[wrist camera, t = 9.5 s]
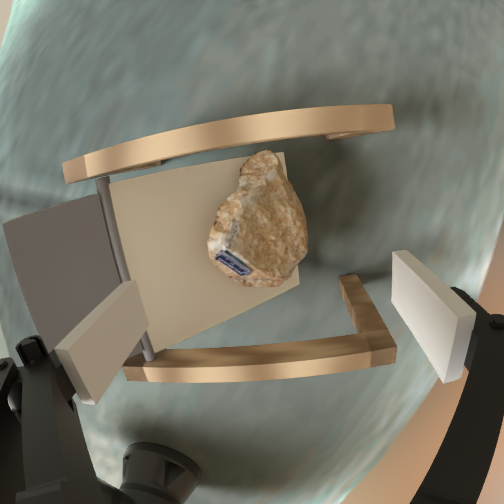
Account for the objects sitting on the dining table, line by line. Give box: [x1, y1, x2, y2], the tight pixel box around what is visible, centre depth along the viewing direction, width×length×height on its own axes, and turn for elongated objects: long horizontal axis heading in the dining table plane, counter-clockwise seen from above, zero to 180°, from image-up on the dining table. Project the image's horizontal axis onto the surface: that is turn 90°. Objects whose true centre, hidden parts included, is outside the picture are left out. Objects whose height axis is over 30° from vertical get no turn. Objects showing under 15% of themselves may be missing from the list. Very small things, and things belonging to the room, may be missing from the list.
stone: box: [207, 150, 308, 287], centre depth 25 cm, size 8×10×4 cm
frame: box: [62, 104, 397, 383], centre depth 25 cm, size 21×18×14 cm
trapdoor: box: [3, 152, 300, 361], centre depth 25 cm, size 24×14×5 cm
